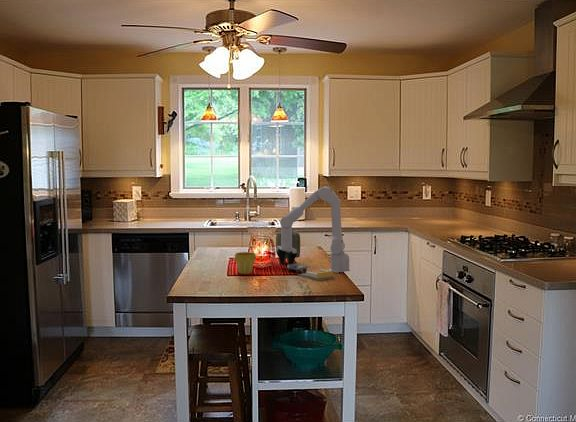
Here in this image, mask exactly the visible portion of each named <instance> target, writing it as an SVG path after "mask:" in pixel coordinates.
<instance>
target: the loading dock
mask: <svg viewBox="0 0 576 422" xmlns="http://www.w3.org/2000/svg"><path fill="white" fill-rule="evenodd" d="M297 276H300V277H303V278H307V279H311V280H315V281H322V280H330V279H334V278H335V277H334V272H333V271H327V269H319V271H317V272H316V271H313V272H312V271H308V270H307V271H306V272H303V273H297Z"/></svg>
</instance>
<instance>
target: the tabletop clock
mask: <svg viewBox="0 0 576 422" xmlns="http://www.w3.org/2000/svg"><path fill="white" fill-rule="evenodd" d="M277 246H281V230H280V231H278V232H276V234H275V250H276V251H278V250H277ZM292 248H294V249H297V256H296V257H295V260H294V264H295V263H298V262H297V261H296V258H297V259H298V258H299V257H301V256H300V255H301V235H300V233H299V232H298V231H296V230H294V229H293V228H292ZM276 251H275V252H276ZM287 253H290V252H287V251H286V254H285V262H284V264H283V265H285V264H287V263H286V262H288V256H287Z"/></svg>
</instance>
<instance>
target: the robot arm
mask: <svg viewBox="0 0 576 422" xmlns="http://www.w3.org/2000/svg"><path fill="white" fill-rule="evenodd" d="M337 195H338V194H336V192H335V190H334V189H332V188H331V187H329V186H328V185H327V186H322V187H320V188H318V189H317V190H316V191H314V192H313V193H311V194H310V195H309V196H308V197H307V198H306V199H305V200H304V201H303V202H302V203H301V204H300V205H299V206H298V205H296V206H292V207H291V210H290V211H289V212H287V213H285V216H283V217H282V218H281V219H280V221H279V224H280V228H281V229H280V231H281V246H277V250H278V251H275V253H276V255H277V256H278V257H277V258H278V259H279V263H280V265H285V264H284V262H286V260H285V254H286V251H287V252H290V253H287V256H288V258H287V259H288V261H287V262H288V264H294V263H295V262H294V260H295V261H296V258H295V257H296V256H297V249H294V248H292V229H293V227H292V226H293V225H294V223H295V222H297V220H299V219H300V218H301V217H302V216H303V215H304V211H305V210H306V209H307V208H308V207H310V206H311V205H312V204H313V203H314V202H315V201H320V200H323V201H324V202H326V203H328V204H329V205H330V213H331V214H330V215H331V233H332V234H331V235H332V237H331V245H330V268H329V269H326V271H333V273H336V274H339V272H340V273H344V272H346V273H347V272H351V269H350V257H349V254H348V253H346V252H345V251H344V250H345V247H346V245H345V242H344V240H343V232H342V231H343V230H342V215H341V214H342V213H341V211H342V210H341V200H340V198H339V197H338V196H337Z"/></svg>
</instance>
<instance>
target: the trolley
mask: <svg viewBox="0 0 576 422" xmlns="http://www.w3.org/2000/svg"><path fill="white" fill-rule="evenodd" d="M294 263H295V262H294ZM286 264H287V263H286ZM287 269H288V272H292V270H295V273H296V274H301V273H300V272H301V270H302V272H303V273H306V272H307V271H308V270H307V269H308V265H307V264H306V265H299V264H298V262H297V263H295V264H289V263H288V264H287Z"/></svg>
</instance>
